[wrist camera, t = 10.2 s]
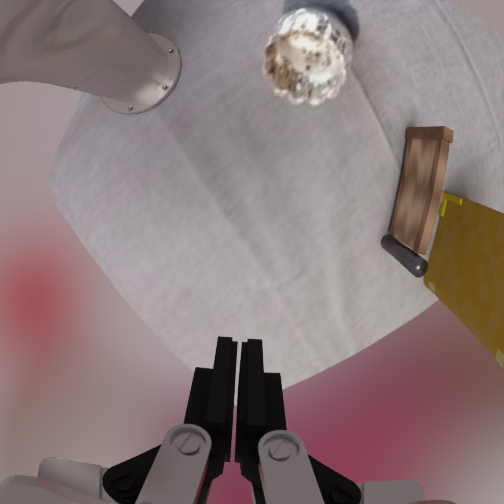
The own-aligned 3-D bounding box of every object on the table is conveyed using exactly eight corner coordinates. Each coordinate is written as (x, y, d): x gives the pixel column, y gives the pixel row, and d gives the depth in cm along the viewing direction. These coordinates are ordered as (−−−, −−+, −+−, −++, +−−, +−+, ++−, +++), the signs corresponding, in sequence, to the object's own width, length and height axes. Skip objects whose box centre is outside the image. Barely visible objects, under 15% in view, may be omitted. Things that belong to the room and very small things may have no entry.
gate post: (378, 243, 39) (409, 271, 30) (387, 231, 39) (421, 255, 29) (387, 252, 40) (419, 280, 30) (397, 240, 39) (430, 266, 30)
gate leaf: (407, 127, 33) (444, 126, 24) (415, 131, 33) (453, 130, 24) (387, 232, 38) (418, 254, 30) (395, 233, 38) (427, 256, 30)
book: (442, 191, 36) (565, 244, 13) (468, 199, 36) (579, 251, 13) (417, 287, 42) (502, 383, 19) (443, 289, 42) (525, 373, 19)
